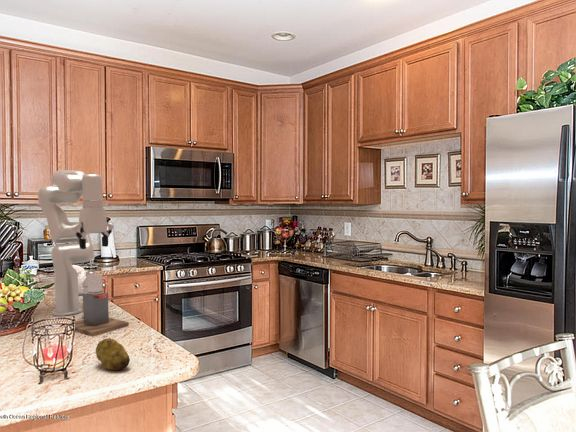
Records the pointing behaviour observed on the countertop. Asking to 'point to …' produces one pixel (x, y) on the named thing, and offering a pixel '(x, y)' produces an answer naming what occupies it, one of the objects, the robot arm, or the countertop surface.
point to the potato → (112, 354)
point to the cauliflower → (80, 278)
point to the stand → (97, 316)
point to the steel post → (95, 284)
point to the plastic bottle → (85, 282)
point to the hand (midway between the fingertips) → (94, 247)
